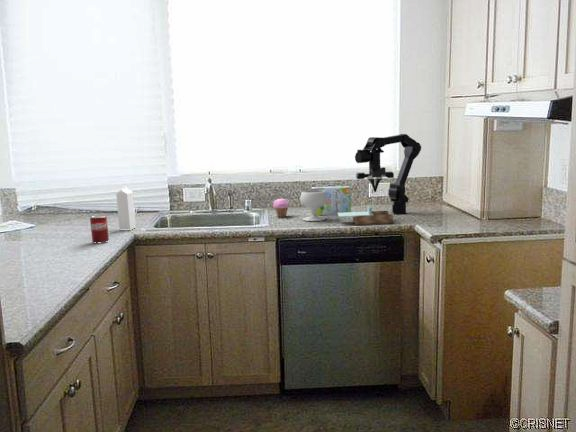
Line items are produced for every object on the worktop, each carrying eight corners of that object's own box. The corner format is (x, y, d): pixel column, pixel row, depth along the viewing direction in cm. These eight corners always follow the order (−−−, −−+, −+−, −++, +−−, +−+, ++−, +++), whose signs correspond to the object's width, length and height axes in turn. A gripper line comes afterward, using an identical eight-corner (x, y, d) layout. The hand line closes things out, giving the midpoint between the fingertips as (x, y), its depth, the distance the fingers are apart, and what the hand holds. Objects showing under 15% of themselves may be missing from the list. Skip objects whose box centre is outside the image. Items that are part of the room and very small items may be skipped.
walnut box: (388, 219, 298) (388, 210, 297) (392, 223, 286) (392, 214, 286) (352, 220, 298) (352, 212, 297) (355, 225, 286) (355, 216, 286)
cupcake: (289, 217, 314) (288, 199, 312) (273, 218, 314) (272, 199, 313) (289, 215, 323) (289, 197, 321) (274, 215, 323) (273, 197, 321)
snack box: (350, 213, 322) (350, 185, 320) (350, 214, 317) (350, 186, 314) (312, 213, 325) (311, 186, 322) (311, 215, 319) (310, 187, 317)
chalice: (317, 216, 315) (316, 188, 313) (333, 219, 304) (332, 190, 301) (295, 219, 308) (294, 191, 305) (311, 223, 296) (310, 193, 294)
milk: (119, 230, 296) (115, 187, 293) (125, 228, 302) (121, 185, 298) (130, 230, 295) (126, 187, 291) (136, 228, 301) (132, 185, 297)
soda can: (94, 241, 273) (92, 215, 271) (110, 240, 274) (108, 214, 272) (90, 244, 266) (88, 218, 264) (107, 243, 267) (104, 217, 265)
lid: (370, 212, 297) (370, 204, 296) (373, 216, 287) (373, 208, 286) (337, 213, 296) (337, 206, 296) (339, 217, 286) (339, 209, 286)
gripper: (358, 163, 295) (359, 194, 298) (395, 162, 295) (395, 193, 298) (355, 162, 306) (356, 191, 309) (391, 160, 306) (391, 190, 309)
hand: (375, 191), depth 306 cm, fingers closed
